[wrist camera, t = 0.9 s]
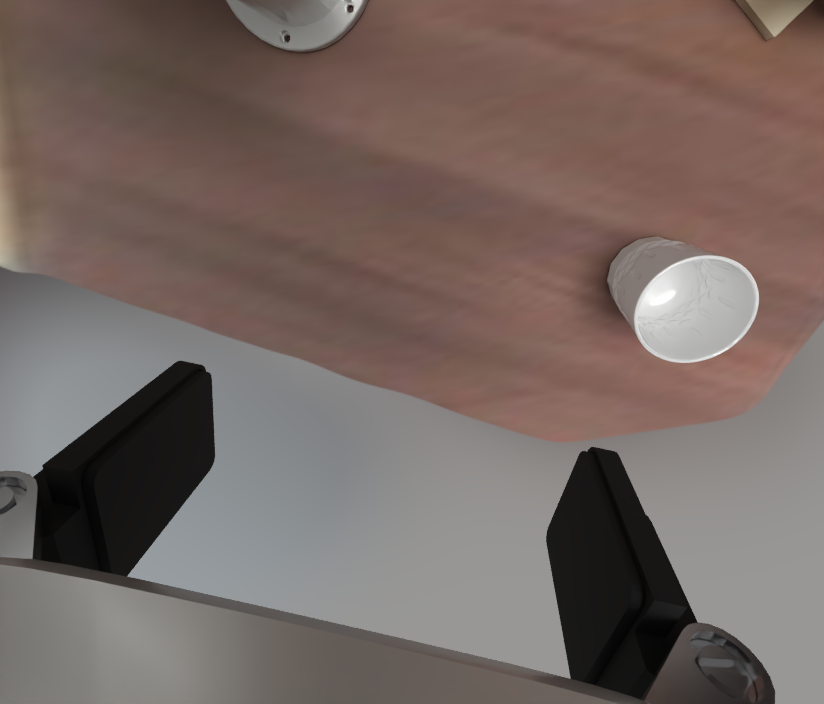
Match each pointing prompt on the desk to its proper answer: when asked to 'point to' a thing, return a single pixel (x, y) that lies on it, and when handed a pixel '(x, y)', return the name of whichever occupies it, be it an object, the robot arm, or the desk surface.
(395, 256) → the desk surface
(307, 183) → the desk surface
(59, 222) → the desk surface
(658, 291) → the white cup
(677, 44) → the desk surface
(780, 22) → the wooden post stand
